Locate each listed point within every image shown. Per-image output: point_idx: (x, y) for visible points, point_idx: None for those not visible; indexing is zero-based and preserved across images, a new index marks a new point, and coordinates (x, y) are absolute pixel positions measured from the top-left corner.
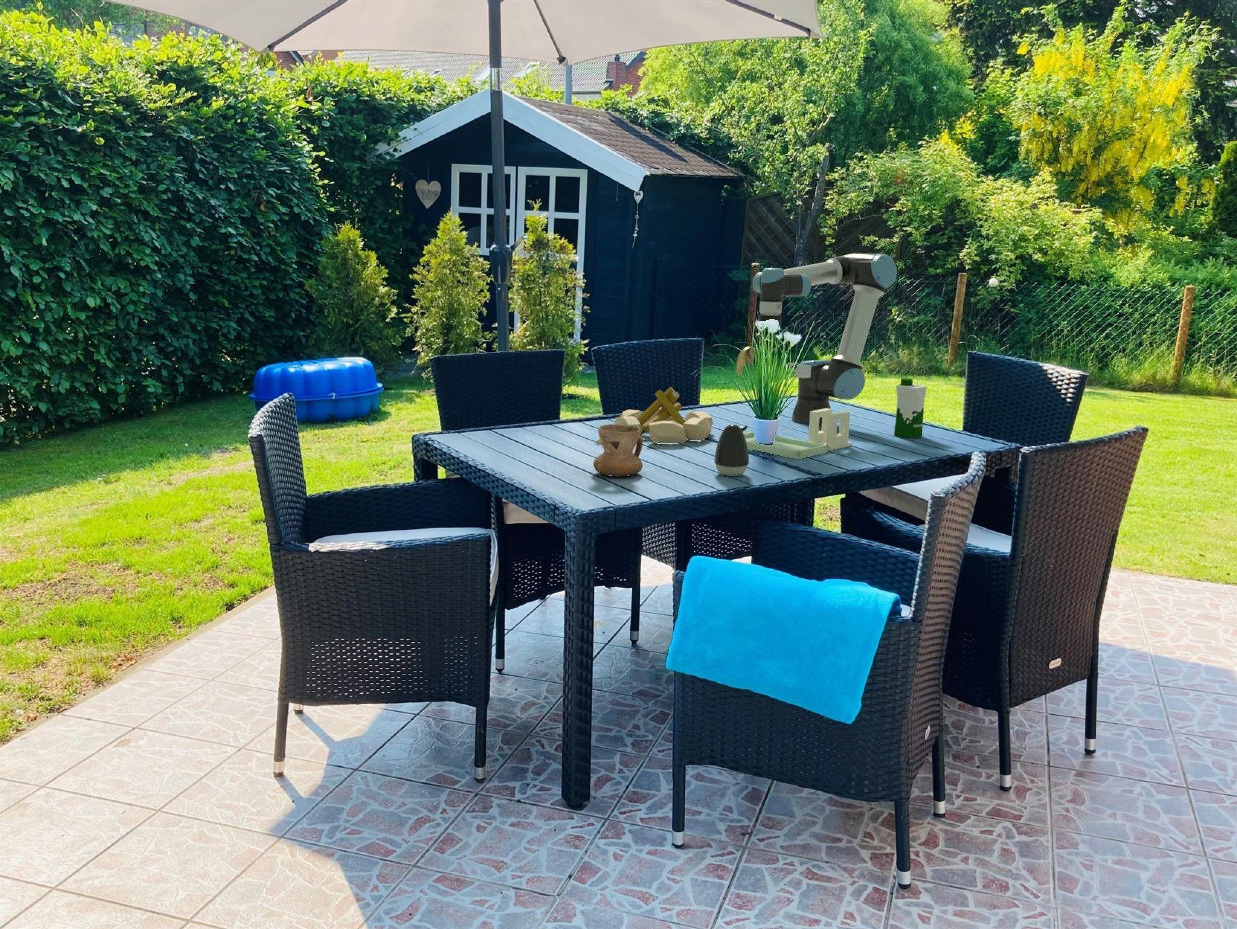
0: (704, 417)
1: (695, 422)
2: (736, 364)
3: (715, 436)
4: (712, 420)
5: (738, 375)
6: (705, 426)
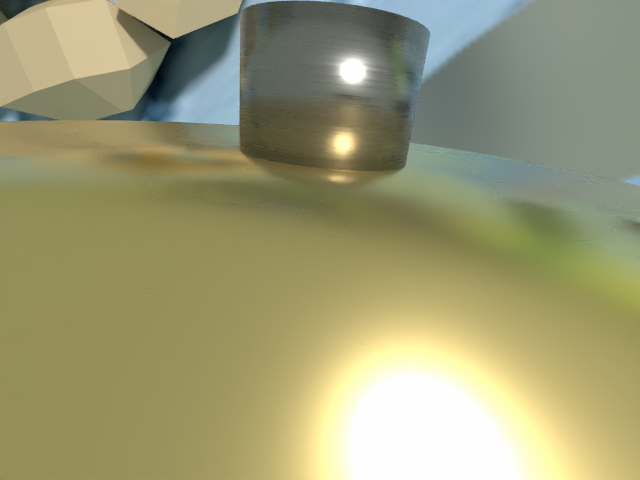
0: (136, 12)
1: (7, 86)
2: (20, 122)
3: (214, 79)
4: (205, 25)
5: (186, 123)
6: (76, 107)
